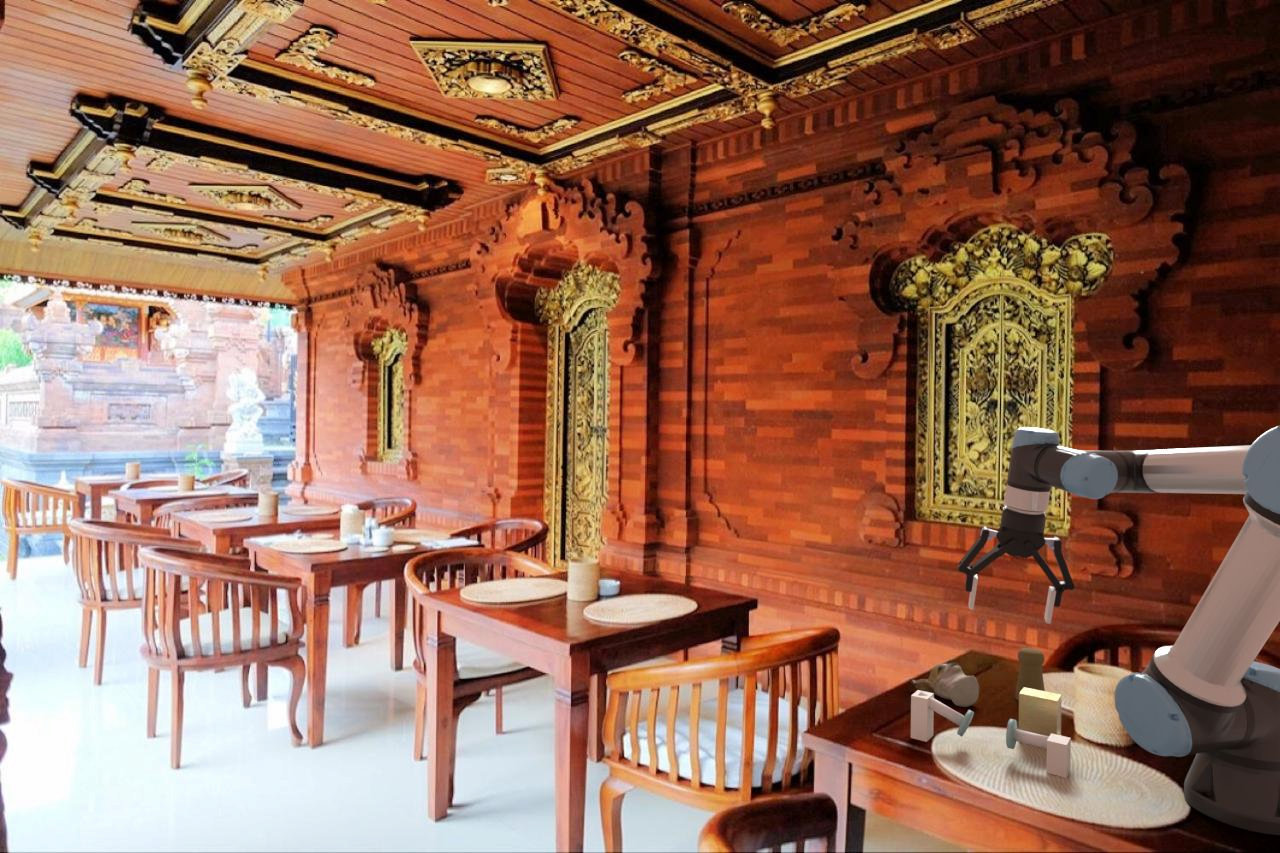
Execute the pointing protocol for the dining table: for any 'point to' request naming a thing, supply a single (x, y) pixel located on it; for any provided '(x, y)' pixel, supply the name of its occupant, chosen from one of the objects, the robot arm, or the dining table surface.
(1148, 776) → the dining table surface
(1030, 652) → the olive pepper shaker
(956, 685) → the ceramic sculpture
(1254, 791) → the robot arm
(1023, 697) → the tan rectangular block
